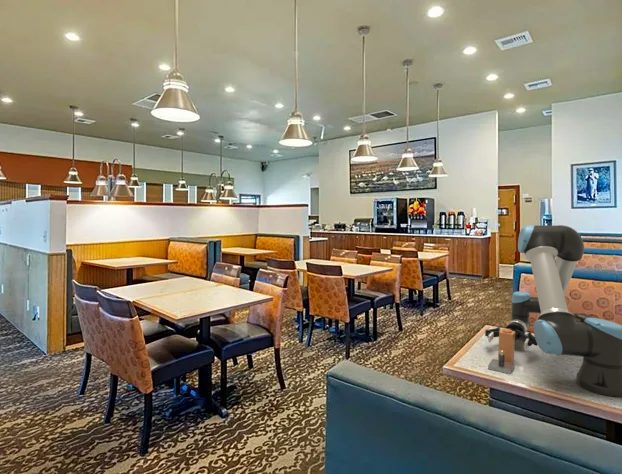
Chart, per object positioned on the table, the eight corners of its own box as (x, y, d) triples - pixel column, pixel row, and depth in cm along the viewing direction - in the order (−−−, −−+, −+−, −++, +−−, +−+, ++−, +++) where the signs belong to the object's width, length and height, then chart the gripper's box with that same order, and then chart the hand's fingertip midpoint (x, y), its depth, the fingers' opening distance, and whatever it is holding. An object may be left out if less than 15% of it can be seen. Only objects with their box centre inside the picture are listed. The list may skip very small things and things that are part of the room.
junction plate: (514, 367, 149) (515, 349, 148) (510, 374, 142) (511, 356, 142) (492, 362, 154) (493, 345, 153) (488, 368, 147) (488, 351, 147)
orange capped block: (514, 359, 156) (515, 329, 155) (511, 363, 152) (512, 332, 151) (500, 357, 159) (501, 327, 158) (498, 360, 155) (499, 330, 154)
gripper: (547, 343, 166) (541, 358, 150) (486, 332, 182) (474, 344, 165) (548, 326, 166) (542, 339, 149) (487, 317, 181) (475, 328, 164)
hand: (506, 342), depth 157 cm, fingers open, 13 cm apart
